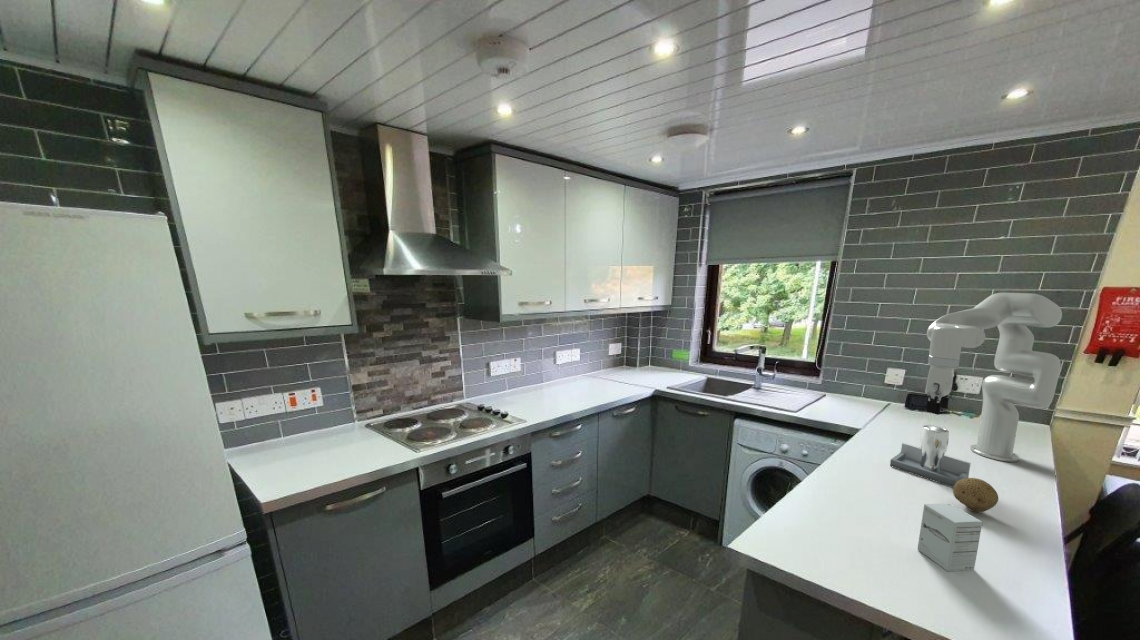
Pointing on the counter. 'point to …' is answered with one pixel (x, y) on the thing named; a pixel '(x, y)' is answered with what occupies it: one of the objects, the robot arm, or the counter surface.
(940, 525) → the supplement box
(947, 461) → the guarded tray
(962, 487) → the natural sponge
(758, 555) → the counter surface
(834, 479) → the counter surface
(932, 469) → the beer glass
